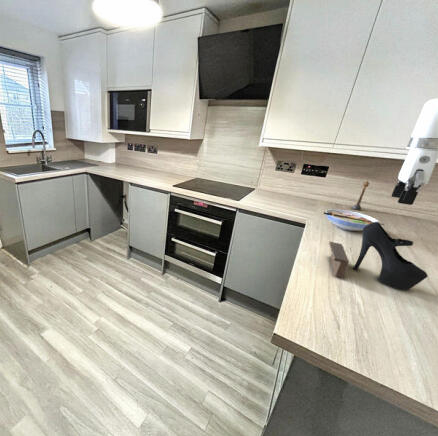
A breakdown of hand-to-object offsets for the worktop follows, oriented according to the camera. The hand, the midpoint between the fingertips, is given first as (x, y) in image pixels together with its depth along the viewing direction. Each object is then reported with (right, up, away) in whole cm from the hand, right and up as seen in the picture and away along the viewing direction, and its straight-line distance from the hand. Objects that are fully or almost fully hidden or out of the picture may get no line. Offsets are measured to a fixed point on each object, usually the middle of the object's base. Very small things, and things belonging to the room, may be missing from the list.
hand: (400, 200), depth 75 cm
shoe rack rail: (-9, -25, +15) cm, 30 cm away
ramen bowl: (+29, -11, +55) cm, 63 cm away
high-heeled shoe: (+2, -28, +9) cm, 30 cm away
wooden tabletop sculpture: (+66, 0, +90) cm, 112 cm away
